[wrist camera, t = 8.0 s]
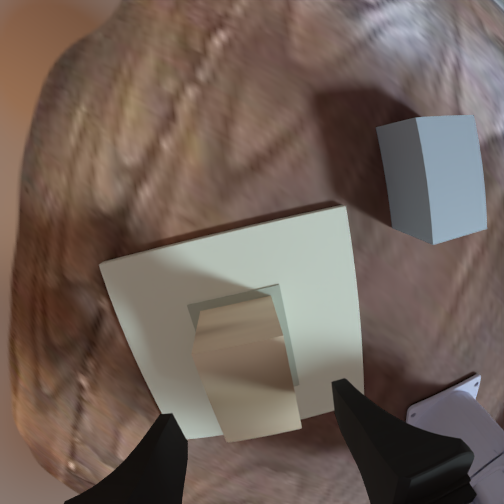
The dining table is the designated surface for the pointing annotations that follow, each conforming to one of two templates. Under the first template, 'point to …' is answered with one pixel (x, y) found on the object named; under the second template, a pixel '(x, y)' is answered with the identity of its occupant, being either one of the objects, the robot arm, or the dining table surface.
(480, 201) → the slate brick
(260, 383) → the birch brick
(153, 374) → the plate
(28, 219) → the dining table surface
